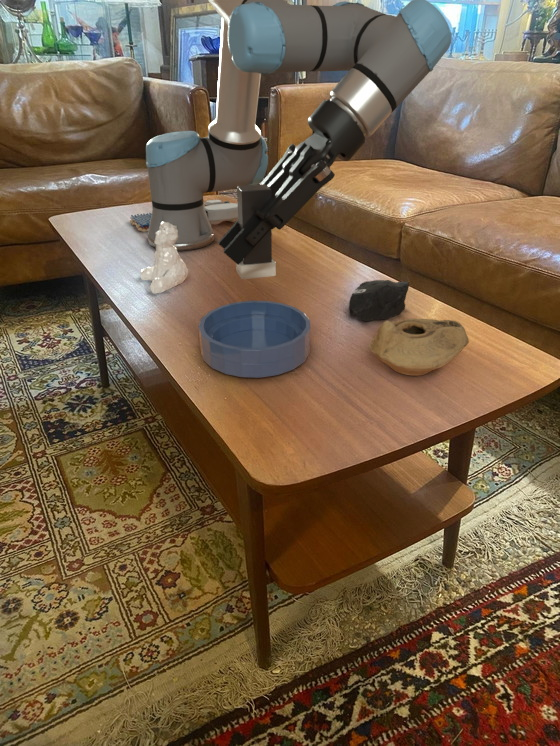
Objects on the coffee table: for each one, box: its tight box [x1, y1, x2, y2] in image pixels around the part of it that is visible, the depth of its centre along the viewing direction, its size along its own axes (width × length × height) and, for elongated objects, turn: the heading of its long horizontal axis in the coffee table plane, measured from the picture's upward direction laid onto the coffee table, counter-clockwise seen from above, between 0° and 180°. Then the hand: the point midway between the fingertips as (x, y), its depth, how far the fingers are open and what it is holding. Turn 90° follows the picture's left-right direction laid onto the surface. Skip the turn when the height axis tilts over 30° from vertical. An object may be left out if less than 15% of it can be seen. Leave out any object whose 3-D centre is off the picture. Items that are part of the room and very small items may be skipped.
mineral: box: [348, 279, 410, 322], centre depth 94 cm, size 10×9×6 cm
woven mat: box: [129, 212, 152, 233], centre depth 140 cm, size 10×11×2 cm
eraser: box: [235, 183, 277, 280], centre depth 75 cm, size 5×4×12 cm
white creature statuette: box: [140, 221, 189, 295], centre depth 104 cm, size 10×9×12 cm
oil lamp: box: [368, 318, 470, 376], centre depth 78 cm, size 11×15×8 cm
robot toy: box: [203, 199, 238, 225], centre depth 143 cm, size 12×4×15 cm
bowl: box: [198, 300, 311, 379], centre depth 82 cm, size 16×16×5 cm
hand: (228, 253), depth 76 cm, fingers closed on eraser, 3 cm apart
